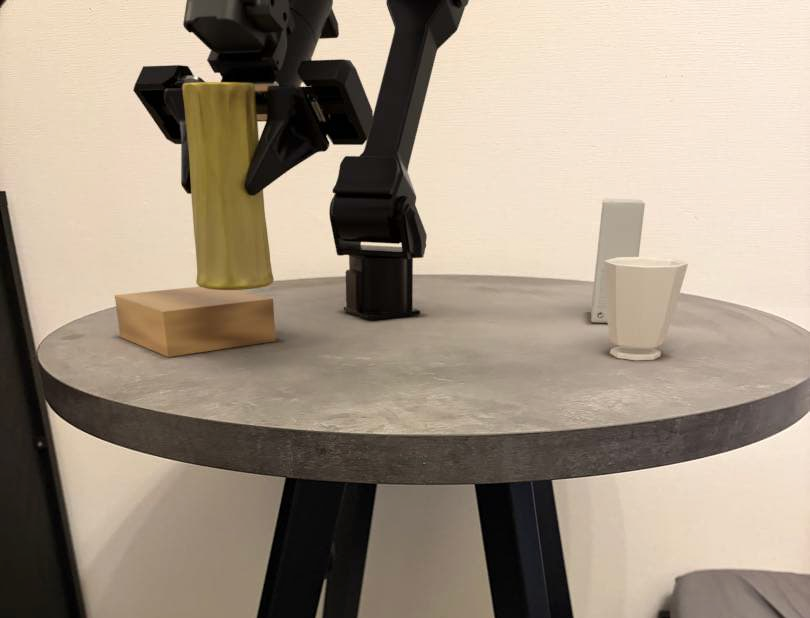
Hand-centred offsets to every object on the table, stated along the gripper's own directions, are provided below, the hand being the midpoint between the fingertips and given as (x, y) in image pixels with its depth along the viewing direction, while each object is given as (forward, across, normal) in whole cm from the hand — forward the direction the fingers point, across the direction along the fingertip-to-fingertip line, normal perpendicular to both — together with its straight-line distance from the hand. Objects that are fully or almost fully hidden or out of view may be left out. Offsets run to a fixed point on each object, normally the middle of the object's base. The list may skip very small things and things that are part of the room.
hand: (216, 190), depth 65 cm
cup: (-5, +29, +26) cm, 39 cm away
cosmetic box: (-15, +24, +36) cm, 46 cm away
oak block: (+3, -11, +17) cm, 20 cm away
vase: (+4, 0, +6) cm, 7 cm away
